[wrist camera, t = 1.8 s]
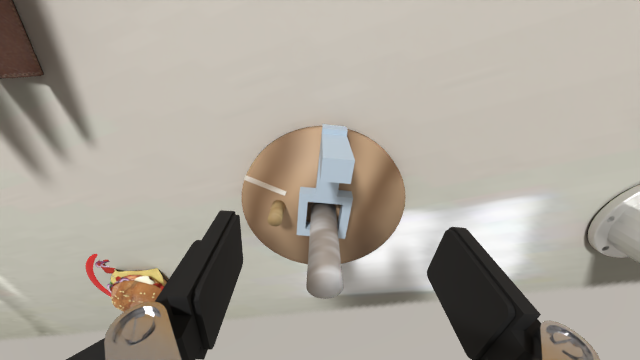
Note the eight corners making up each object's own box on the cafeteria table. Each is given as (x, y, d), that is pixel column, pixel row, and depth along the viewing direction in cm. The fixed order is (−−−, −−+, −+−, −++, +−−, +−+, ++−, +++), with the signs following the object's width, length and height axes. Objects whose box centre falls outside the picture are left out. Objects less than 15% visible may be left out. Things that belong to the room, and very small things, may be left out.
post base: (423, 135, 25) (499, 193, 15) (382, 263, 35) (409, 356, 24) (239, 117, 24) (175, 164, 14) (248, 253, 34) (214, 345, 23)
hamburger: (165, 243, 34) (137, 278, 28) (192, 303, 40) (173, 341, 35) (69, 245, 34) (23, 281, 28) (112, 305, 40) (81, 343, 35)
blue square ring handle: (343, 230, 30) (350, 280, 23) (297, 226, 30) (291, 276, 23) (363, 128, 23) (380, 156, 17) (304, 122, 23) (298, 148, 17)
